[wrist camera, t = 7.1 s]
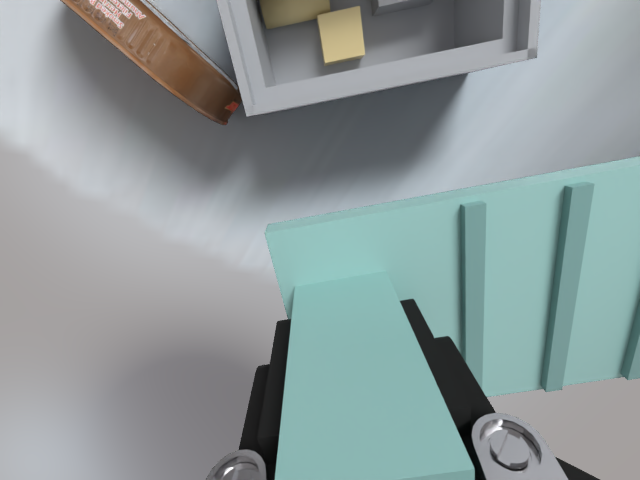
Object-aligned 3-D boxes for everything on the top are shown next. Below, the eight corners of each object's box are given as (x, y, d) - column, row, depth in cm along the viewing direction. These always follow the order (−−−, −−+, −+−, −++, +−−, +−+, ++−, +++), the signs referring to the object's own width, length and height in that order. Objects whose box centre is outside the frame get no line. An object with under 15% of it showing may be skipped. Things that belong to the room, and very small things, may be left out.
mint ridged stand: (733, 139, 9) (1555, 199, 3) (665, 352, 13) (1009, 591, 6) (268, 224, 10) (195, 408, 4) (316, 404, 13) (319, 663, 7)
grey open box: (468, -99, 20) (557, -217, 13) (468, 72, 24) (536, 57, 17) (229, -43, 21) (184, -123, 14) (266, 113, 25) (246, 116, 18)
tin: (55, -32, 21) (-92, -111, 14) (76, -77, 20) (-69, -189, 13) (235, 126, 25) (201, 134, 18) (259, 94, 25) (234, 88, 17)
